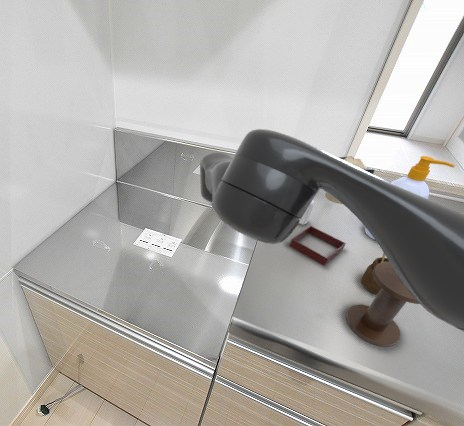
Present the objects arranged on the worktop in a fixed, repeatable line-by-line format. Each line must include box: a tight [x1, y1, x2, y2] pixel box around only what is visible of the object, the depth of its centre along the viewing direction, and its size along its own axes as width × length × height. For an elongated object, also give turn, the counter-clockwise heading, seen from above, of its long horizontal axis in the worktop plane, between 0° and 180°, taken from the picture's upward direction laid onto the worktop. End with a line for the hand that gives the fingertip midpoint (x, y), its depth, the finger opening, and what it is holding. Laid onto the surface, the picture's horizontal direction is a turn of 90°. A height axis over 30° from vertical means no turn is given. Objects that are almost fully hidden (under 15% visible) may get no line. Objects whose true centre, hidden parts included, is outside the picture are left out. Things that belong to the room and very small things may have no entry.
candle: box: [324, 156, 367, 205], centre depth 67 cm, size 6×6×10 cm
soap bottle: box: [364, 155, 456, 241], centre depth 76 cm, size 9×9×24 cm
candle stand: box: [345, 262, 421, 348], centre depth 56 cm, size 9×9×14 cm
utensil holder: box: [360, 252, 389, 296], centre depth 65 cm, size 6×6×12 cm
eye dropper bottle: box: [298, 199, 315, 226], centre depth 86 cm, size 4×6×12 cm
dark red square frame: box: [289, 225, 347, 267], centre depth 79 cm, size 10×10×2 cm
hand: (361, 167), depth 65 cm, fingers closed on candle, 5 cm apart
